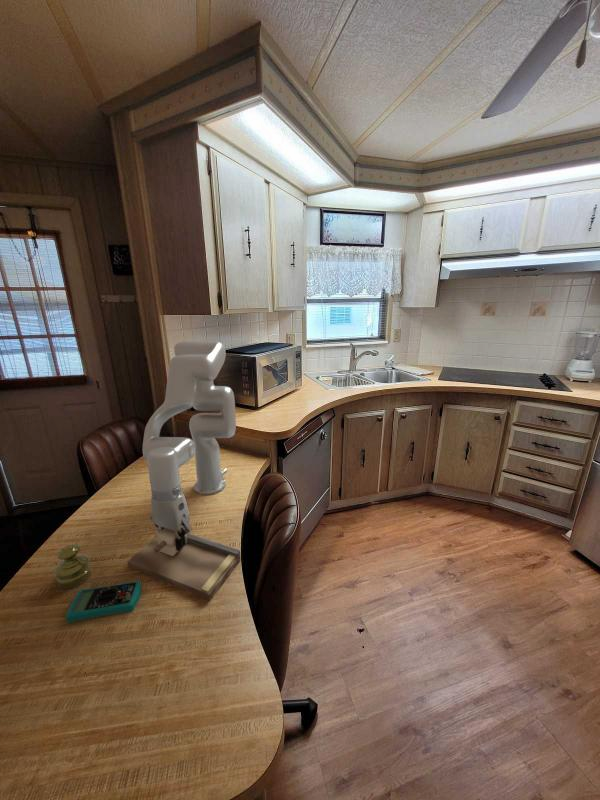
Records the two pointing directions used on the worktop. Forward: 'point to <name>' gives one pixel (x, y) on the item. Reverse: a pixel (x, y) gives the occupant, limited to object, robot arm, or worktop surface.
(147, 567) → the board
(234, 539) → the worktop surface
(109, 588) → the digital multimeter
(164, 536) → the block with top hole
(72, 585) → the brass pawn finial
